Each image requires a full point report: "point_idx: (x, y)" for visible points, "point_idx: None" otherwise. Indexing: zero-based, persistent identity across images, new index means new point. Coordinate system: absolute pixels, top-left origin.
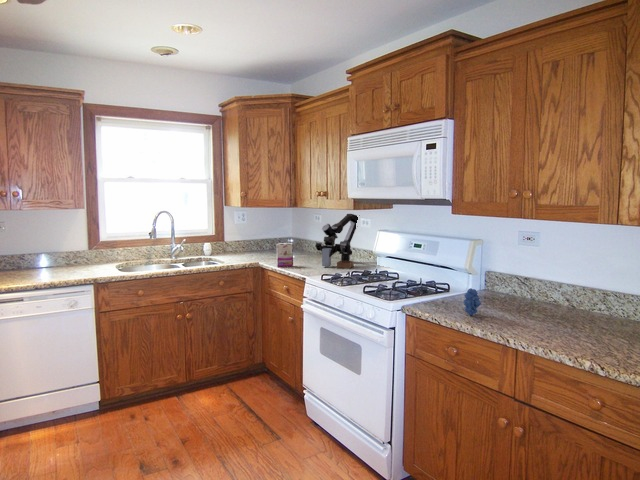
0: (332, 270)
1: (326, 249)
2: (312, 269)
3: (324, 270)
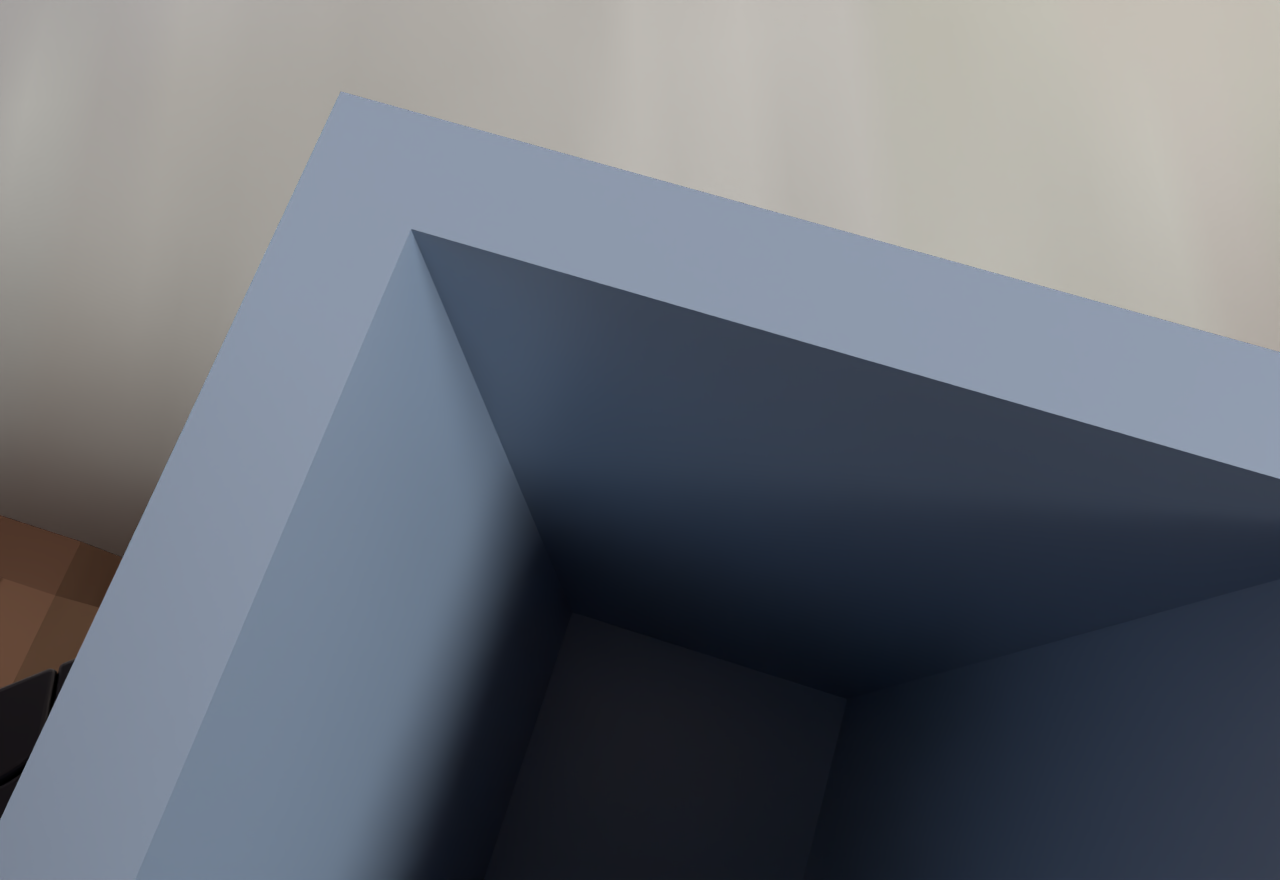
0: (424, 57)
1: (760, 228)
2: (1160, 176)
3: (705, 32)
